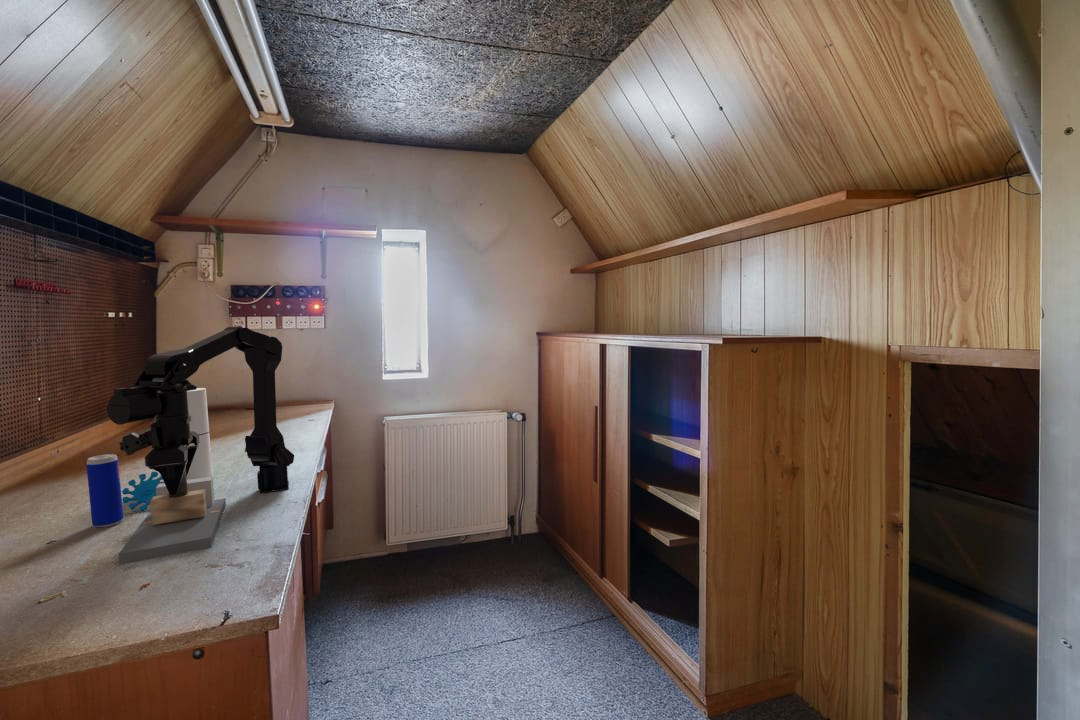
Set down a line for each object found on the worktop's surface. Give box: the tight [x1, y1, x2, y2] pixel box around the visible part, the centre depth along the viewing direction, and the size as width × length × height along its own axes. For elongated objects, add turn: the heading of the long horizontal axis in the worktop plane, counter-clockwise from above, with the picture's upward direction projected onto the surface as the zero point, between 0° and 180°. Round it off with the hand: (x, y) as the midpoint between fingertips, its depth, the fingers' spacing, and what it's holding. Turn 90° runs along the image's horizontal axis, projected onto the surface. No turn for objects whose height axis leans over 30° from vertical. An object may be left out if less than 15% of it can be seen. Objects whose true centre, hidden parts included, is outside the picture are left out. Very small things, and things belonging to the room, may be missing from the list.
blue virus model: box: [121, 471, 164, 512], centre depth 119 cm, size 11×6×10 cm
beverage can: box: [85, 453, 124, 528], centre depth 107 cm, size 5×5×15 cm
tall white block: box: [186, 387, 213, 480], centre depth 139 cm, size 7×7×25 cm
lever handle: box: [149, 467, 207, 525], centre depth 104 cm, size 9×3×11 cm, turn 117°
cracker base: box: [117, 476, 227, 565], centre depth 103 cm, size 14×24×8 cm, turn 27°
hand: (177, 487), depth 104 cm, fingers open, 9 cm apart
